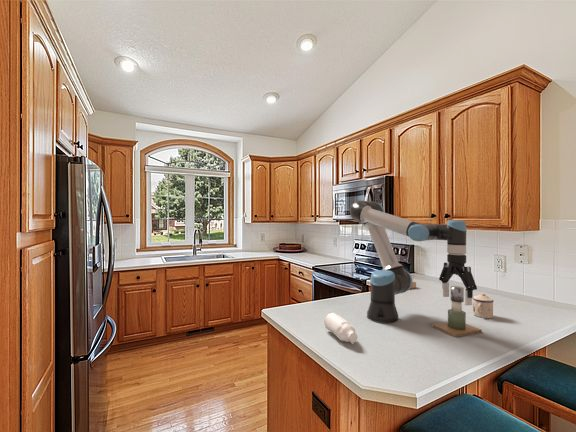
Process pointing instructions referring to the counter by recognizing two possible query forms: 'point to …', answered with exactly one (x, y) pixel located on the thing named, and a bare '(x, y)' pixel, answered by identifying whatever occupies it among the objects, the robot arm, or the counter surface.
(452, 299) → the cap
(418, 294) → the counter surface
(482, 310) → the teacup with lid
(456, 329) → the brown board with cylinder
